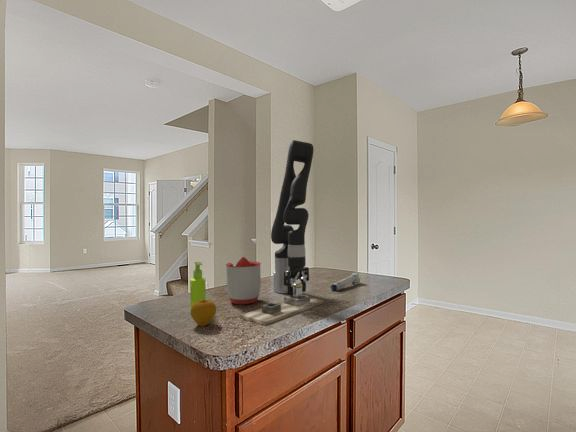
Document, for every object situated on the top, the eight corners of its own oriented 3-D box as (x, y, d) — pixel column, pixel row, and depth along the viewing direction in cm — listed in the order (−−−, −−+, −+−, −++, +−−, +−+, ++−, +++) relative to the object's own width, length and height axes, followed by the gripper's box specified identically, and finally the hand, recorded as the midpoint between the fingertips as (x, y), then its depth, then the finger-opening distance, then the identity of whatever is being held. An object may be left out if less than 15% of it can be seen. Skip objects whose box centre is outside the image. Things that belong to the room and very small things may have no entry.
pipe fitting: (290, 303, 137) (289, 284, 137) (296, 300, 140) (296, 282, 140) (298, 304, 134) (298, 285, 134) (305, 302, 137) (304, 283, 137)
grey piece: (329, 283, 163) (353, 269, 182) (330, 296, 164) (354, 281, 183) (338, 284, 160) (361, 270, 179) (339, 297, 161) (362, 282, 180)
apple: (220, 326, 113) (220, 300, 113) (195, 331, 108) (194, 304, 108) (211, 319, 121) (211, 295, 121) (187, 323, 116) (187, 298, 116)
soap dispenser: (192, 315, 126) (192, 263, 126) (189, 310, 132) (188, 261, 132) (207, 313, 129) (207, 262, 129) (203, 308, 135) (203, 260, 135)
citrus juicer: (249, 294, 157) (248, 253, 157) (268, 302, 143) (267, 257, 143) (218, 300, 148) (218, 256, 148) (236, 308, 134) (235, 260, 134)
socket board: (240, 318, 122) (240, 307, 121) (299, 298, 149) (299, 290, 149) (265, 325, 113) (265, 314, 113) (323, 303, 141) (323, 294, 141)
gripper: (299, 253, 145) (300, 289, 145) (278, 256, 134) (279, 295, 134) (313, 254, 140) (314, 291, 140) (292, 257, 129) (293, 298, 129)
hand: (297, 293), depth 137 cm, fingers open, 8 cm apart
